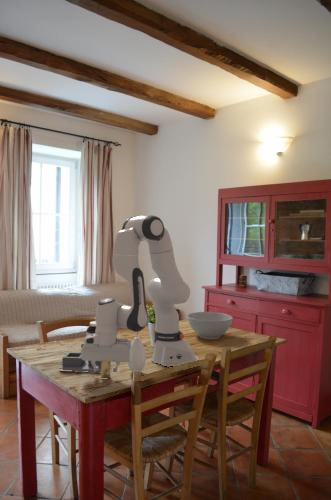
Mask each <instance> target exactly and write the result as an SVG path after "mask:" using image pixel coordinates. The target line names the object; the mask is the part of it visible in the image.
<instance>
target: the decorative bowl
mask: <svg viewBox="0 0 331 500" xmlns="http://www.w3.org/2000/svg"><path fill="white" fill-rule="evenodd" d="M186 318H187V321H188V324H189V327H191V329H192V331H193V332H194V333H196V335H198V337H199V338H201V339H205V340H217V339H219V338H221V336H223V334H225V333H226V332H227V331H228V330H229V329H230V327H231V325H232V323H233V320H234V317H233V316H232V315H230V314H228V313H227V314H226V313H223V312H215V311H214V312H213V311H198V312H192V313H188V314H187V317H186Z"/></svg>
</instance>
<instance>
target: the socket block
mask: <svg viewBox="0 0 331 500" xmlns="http://www.w3.org/2000/svg"><path fill="white" fill-rule="evenodd" d="M61 362H62V365H61V366H60V367H59V370H60V369H63V370H72V371H88V372H101V361H96V362H95V364H96V366H98V371H94V367H93V365H92V364H91V361H84V360H82V359H81V351H80V352H78V351H68V352H66V353H65V354H64V355H63V357H62V361H61Z"/></svg>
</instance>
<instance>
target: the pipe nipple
mask: <svg viewBox="0 0 331 500" xmlns="http://www.w3.org/2000/svg"><path fill="white" fill-rule="evenodd" d="M111 363H112V362H111V361H107V360H103V361H101V373H100V379H101V378H110V379H111V371H112V369H111Z"/></svg>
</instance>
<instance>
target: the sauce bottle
mask: <svg viewBox="0 0 331 500" xmlns="http://www.w3.org/2000/svg"><path fill="white" fill-rule="evenodd" d="M146 355H147V353H146V350H145V346H144V344H143V342H142V340H141V338H140V337H139V336H138V332H136V336H135V337H134V338H133V340H132V341H131V348H130V360H129V361H128V362H127V366H128V368H129V370H130V371H131V372H132V371H134V370H140V371H141V372H142V371H144V368H145V365H146V360H147V357H146Z"/></svg>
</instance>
